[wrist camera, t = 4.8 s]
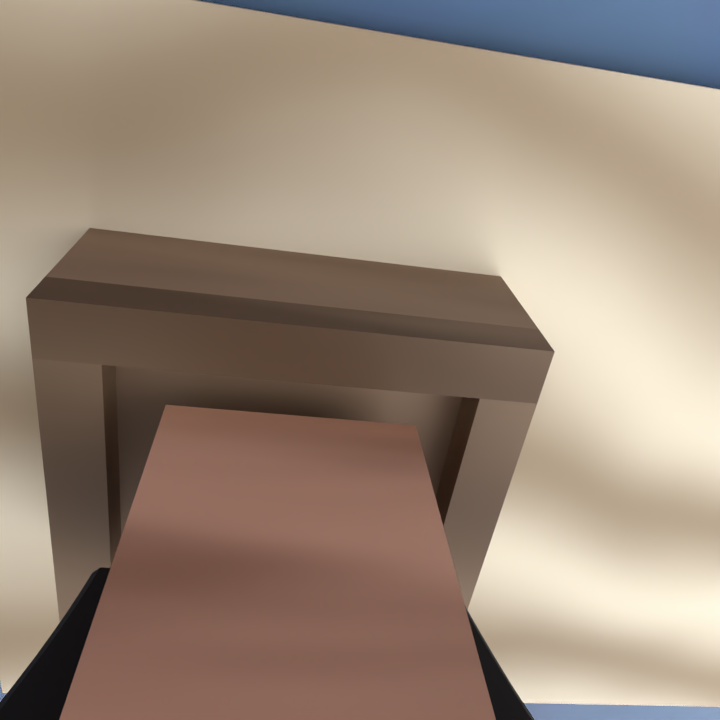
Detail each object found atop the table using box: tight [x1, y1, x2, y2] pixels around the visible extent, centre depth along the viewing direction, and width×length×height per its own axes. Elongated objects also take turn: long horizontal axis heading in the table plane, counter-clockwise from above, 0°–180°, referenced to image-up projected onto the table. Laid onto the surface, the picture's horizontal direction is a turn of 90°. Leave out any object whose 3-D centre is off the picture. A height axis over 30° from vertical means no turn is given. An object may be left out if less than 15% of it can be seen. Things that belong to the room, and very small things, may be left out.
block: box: [59, 405, 496, 720], centre depth 9 cm, size 4×4×6 cm
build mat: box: [0, 0, 720, 707], centre depth 15 cm, size 18×25×4 cm
